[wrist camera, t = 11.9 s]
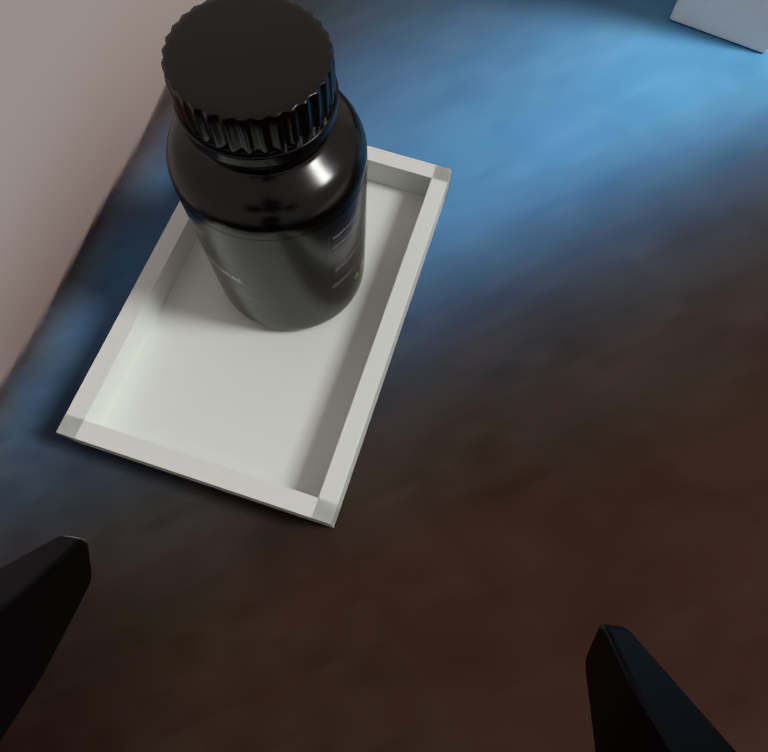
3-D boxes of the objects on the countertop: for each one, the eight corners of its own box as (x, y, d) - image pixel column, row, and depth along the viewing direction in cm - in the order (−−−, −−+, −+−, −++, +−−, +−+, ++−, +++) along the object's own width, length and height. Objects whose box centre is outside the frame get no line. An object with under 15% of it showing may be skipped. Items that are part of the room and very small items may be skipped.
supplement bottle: (201, 316, 26) (74, 114, 14) (248, 197, 28) (171, -58, 17) (345, 352, 25) (330, 173, 14) (381, 228, 28) (394, -11, 16)
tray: (333, 528, 23) (331, 524, 21) (78, 442, 24) (55, 432, 22) (446, 194, 29) (452, 169, 27) (238, 134, 30) (230, 107, 28)
